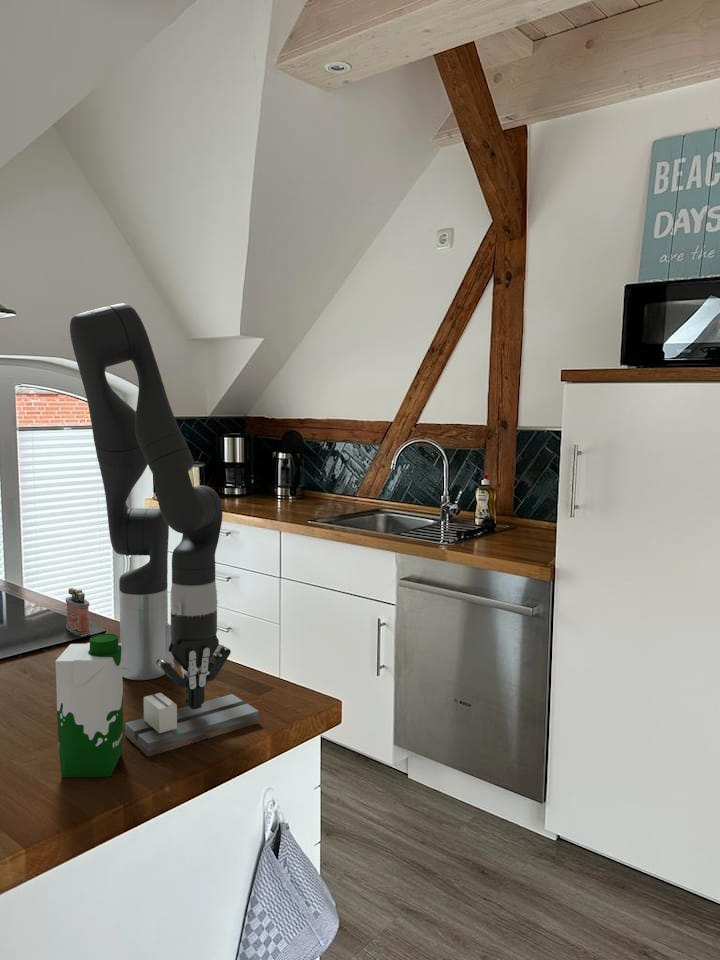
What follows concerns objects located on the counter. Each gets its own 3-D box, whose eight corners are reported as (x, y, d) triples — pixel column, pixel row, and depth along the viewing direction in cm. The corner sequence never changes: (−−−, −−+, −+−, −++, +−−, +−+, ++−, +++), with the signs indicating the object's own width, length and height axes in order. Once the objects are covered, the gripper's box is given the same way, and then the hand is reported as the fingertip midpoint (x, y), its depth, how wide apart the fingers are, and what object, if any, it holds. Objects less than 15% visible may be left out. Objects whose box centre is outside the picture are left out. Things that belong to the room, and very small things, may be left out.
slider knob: (161, 722, 127) (160, 692, 126) (177, 735, 122) (176, 704, 122) (144, 727, 125) (143, 696, 125) (159, 740, 121) (159, 708, 120)
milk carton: (115, 779, 111) (113, 647, 108) (51, 781, 110) (48, 648, 108) (128, 751, 120) (126, 628, 117) (69, 752, 119) (66, 628, 116)
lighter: (93, 634, 175) (92, 592, 174) (79, 637, 173) (78, 594, 171) (76, 626, 180) (75, 585, 179) (63, 629, 178) (61, 587, 177)
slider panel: (232, 705, 137) (232, 693, 137) (258, 723, 130) (258, 710, 130) (125, 735, 125) (125, 722, 125) (148, 756, 118) (147, 742, 118)
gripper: (219, 595, 132) (219, 691, 134) (146, 608, 124) (148, 709, 126) (240, 606, 126) (240, 705, 129) (165, 619, 118) (166, 725, 120)
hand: (194, 707), depth 127 cm, fingers closed
